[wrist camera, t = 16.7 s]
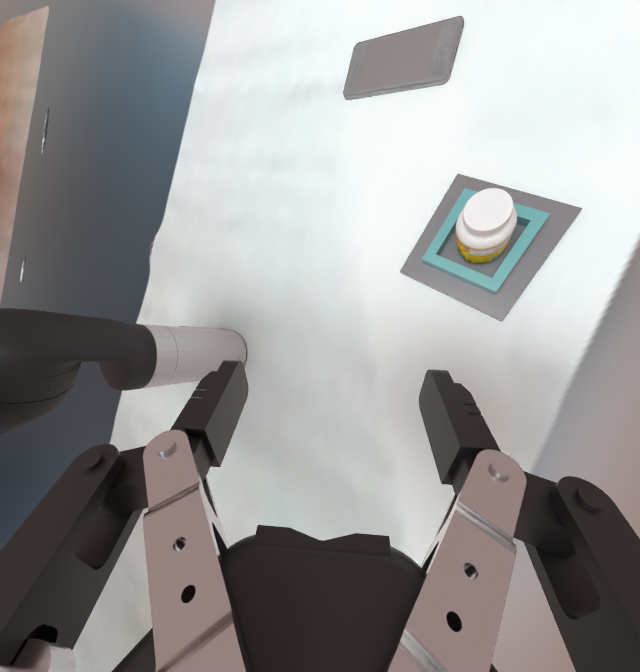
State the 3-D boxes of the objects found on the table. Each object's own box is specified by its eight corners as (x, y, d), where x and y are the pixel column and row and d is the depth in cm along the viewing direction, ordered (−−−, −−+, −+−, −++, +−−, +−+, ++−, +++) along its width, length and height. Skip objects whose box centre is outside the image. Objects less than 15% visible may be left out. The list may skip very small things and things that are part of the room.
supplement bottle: (504, 265, 32) (519, 236, 24) (454, 266, 35) (452, 241, 26) (509, 220, 32) (526, 175, 23) (459, 224, 34) (457, 185, 26)
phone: (447, 87, 37) (447, 79, 36) (344, 103, 44) (341, 97, 43) (465, 24, 36) (465, 13, 35) (357, 51, 44) (354, 43, 42)
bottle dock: (400, 273, 38) (396, 267, 36) (457, 177, 35) (457, 164, 33) (501, 321, 33) (504, 319, 30) (579, 211, 30) (590, 199, 27)
